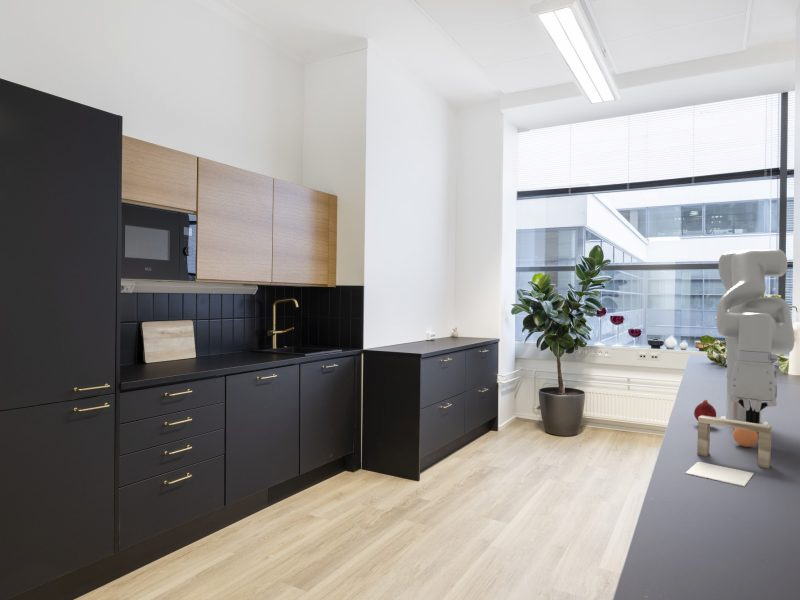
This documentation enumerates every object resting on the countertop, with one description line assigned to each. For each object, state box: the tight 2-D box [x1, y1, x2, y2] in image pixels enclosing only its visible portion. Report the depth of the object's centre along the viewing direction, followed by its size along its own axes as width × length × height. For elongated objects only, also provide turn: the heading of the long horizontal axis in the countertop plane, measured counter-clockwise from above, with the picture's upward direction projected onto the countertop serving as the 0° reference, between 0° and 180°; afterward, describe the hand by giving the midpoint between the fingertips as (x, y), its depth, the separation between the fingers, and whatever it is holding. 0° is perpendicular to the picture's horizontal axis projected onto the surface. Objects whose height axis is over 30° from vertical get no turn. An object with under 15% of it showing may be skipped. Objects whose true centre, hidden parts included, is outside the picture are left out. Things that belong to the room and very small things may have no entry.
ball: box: [732, 428, 759, 448], centre depth 139 cm, size 6×6×6 cm
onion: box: [693, 399, 717, 422], centre depth 160 cm, size 6×6×8 cm
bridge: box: [696, 415, 773, 469], centre depth 127 cm, size 3×14×9 cm, turn 48°
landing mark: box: [684, 461, 755, 488], centre depth 116 cm, size 11×11×1 cm
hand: (752, 425), depth 145 cm, fingers closed
